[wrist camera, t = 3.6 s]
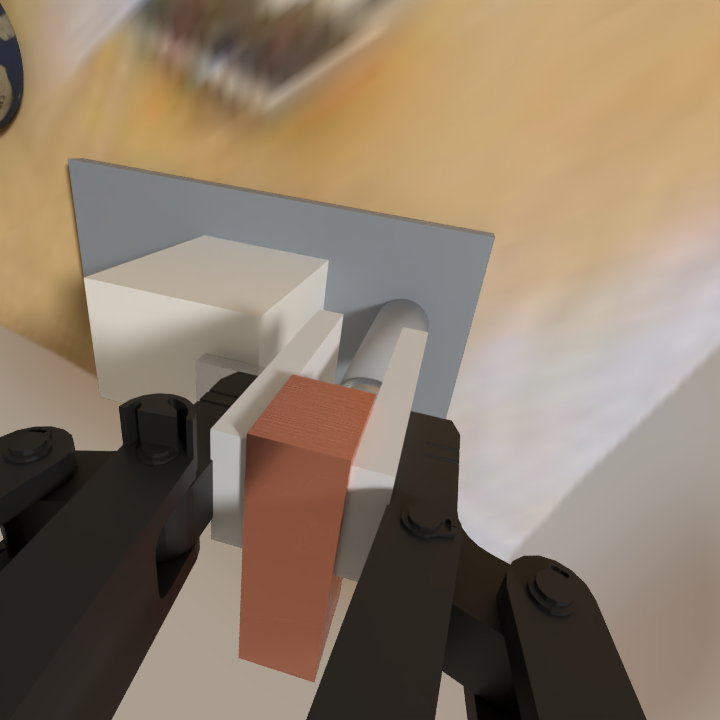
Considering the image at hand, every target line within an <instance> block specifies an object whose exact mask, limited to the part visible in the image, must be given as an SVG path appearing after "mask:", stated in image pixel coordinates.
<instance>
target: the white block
mask: <svg viewBox="0 0 720 720" xmlns="http://www.w3.org/2000/svg"><path fill="white" fill-rule="evenodd" d="M328 262H329V260H325V259H320V258H315V257H310V256H305V255H300V254H295V253H290V252H285V251H280V250H275V249H270V248H265V247H260V246H255V245H250V244H245V243H240V242H235V241H230V240H225V239H220V238H215V237H210V236H205V235H204V236H201V237H198V238H195V239H192V240H190V241H187V242H184V243H181V244H178V245H175V246H172V247H170V248H167V249H164V250H161V251H158V252H155V253H152V254H150V255H147V256H144V257H141V258H138V259H135V260H133V261H130V262H127V263H124V264H121V265H118V266H115V267H113V268H110V269H107V270H104V271H101V272H98V273H95V274H93V275H90V276H87V277H84V283H85V291H86V298H87V305H88V313H89V320H90V327H91V335H92V342H93V349H94V357H95V364H96V371H97V379H98V386H99V393H100V397H102V398H106V399H109V400H113V401H117V402H121V403H125V402H127V401H128V400H130V399H133V398H136V397H139V396H142V395H148V394H156V393H165V394H175V395H178V396H181V397H184V398H186V399H188V400H189V401H190V402H191V403H193V404H195V403H196V402H197V396H196V360H198V359H199V358H200V357H201V356H203V355H204V354H205V353H208V354H212V355H216V356H221V357H225V358H229V359H233V360H238V361H242V362H246V363H250V364H255V365H259V366H263V367H267V366H268V365H269V364H270V363H271V362H272V361H273V360H274V358H275V357H276V356H277V355H278V354H279V353H280V352H281V351H282V350H283V349H284V347H285V346H286V345H287V344H288V343H289V342H290V341H291V340H292V339H293V338H294V336H295V335H296V334H297V333H298V332H299V331H300V330H301V329H302V328H303V326H304V325H305V324H306V323H307V322H308V321H309V320H310V319H311V318H312V317H313V315H314V314H315V313H316V312H317V311H318V310H319V309H321V310H323V307H324V298H325V289H326V280H327V271H328Z"/></svg>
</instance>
